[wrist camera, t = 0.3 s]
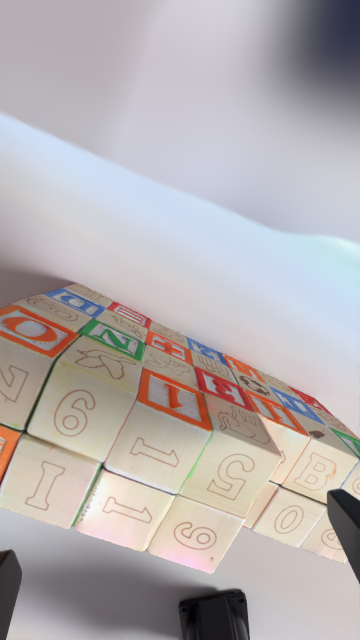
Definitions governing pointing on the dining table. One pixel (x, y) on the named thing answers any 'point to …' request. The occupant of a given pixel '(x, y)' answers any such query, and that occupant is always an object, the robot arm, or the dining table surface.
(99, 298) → the stack of blocks
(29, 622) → the dining table surface
